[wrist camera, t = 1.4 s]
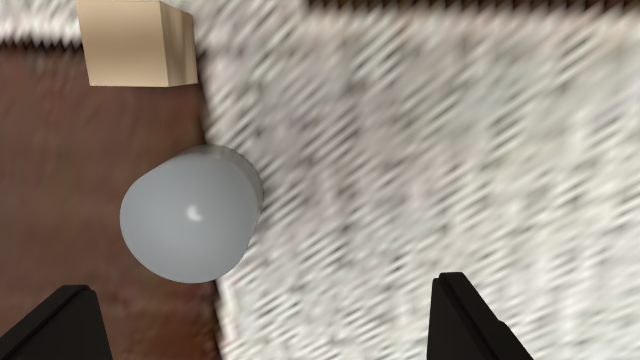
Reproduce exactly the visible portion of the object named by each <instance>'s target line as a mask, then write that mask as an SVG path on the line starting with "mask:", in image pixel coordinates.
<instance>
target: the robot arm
mask: <svg viewBox="0 0 640 360" xmlns="http://www.w3.org/2000/svg"><path fill="white" fill-rule="evenodd" d="M0 360H113V359H112V355H111V351H110V347H109V343H108V338H107V334H106V330H105V326H104V322H103V318H102V314H101V310H100V306H99V302H98V298H97V294H96V292H95V291H94V290H91V289H90V287H89V286H88V285H64V286H61V287H60V288H58V289H57V290H56V291H55V292H53V293H52V294H51V295H50V296H49V297H48V298H46V299H45V300H44V301H43V302H42V303H40V304H39V305H38V306H37V307H36V308H35V309H33V310H32V311H31V312H30V313H29V314H28V315H26V316H25V317H24V318H23V319H22V320H21V321H19V322H18V323H17V324H16V325H15V326H13V327H12V328H11V329H10V330H9V331H8V332H6V333H5V334H4V335H3V336H2V337H1V338H0ZM427 360H533V358H532V357H531V356H530V354H529V353H528V352H527V350H526V349H525V348H524V347H523V345H522V344H521V343H520V341H519V340H518V339H517V337H516V336H515V335H514V334H513V332H512V331H511V330H510V328H509V327H508V326H507V325H506V324H505V323H504V322H502V321H499V320H498V319H497V317H496V316H495V315H494V313H493V312H492V311H491V309H490V308H489V307H488V305H487V304H486V303H485V301H484V300H483V299H482V297H481V296H480V295H479V293H478V292H477V291H476V289H475V288H474V287H473V285H472V284H471V283H470V281H469V280H468V279H467V277H466V276H465V275H464V274H463V273H462V272H447V273H440V275H439V278H434V279H433V283H432V295H431V307H430V319H429V332H428V344H427Z"/></svg>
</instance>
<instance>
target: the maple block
mask: <svg viewBox="0 0 640 360" xmlns="http://www.w3.org/2000/svg"><path fill="white" fill-rule="evenodd" d="M75 2H76V8H77V13H78V19H79V25H80V30H81V36H82V42H83V47H84V53H85V59H86V64H87V70H88V76H89V81H90V85H91V86H150V87H171V86H179V85H187V84H195V83H198V77H197V65H196V54H195V42H194V30H193V19H192V15H191V14H188V13H186V12H184V11H181V10H179V9H177V8H174V7H172V6H170V5H167V4H165V3H163V2H161V1H140V0H75Z"/></svg>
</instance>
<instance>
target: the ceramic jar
mask: <svg viewBox="0 0 640 360" xmlns="http://www.w3.org/2000/svg"><path fill="white" fill-rule="evenodd" d="M263 201H264V192H263V186H262V182H261V179H260V177H259V175H258V173H257V171H256V169H255V168H254V167H253V165H252V164H251V163H250V162H249V161H248V160H247V159H246V158H245V157H244V156H242V155H241V154H239V153H238V152H236V151H234V150H232V149H230V148H227V147H224V146H220V145H214V144H202V145H196V146H193V147H190V148H188V149H185V150H183V151H182V152H180V153H179V154H177V155H175V156H174V157H172V158H171V159H169V160H167V161H166V162H164V163H162V164H161V165H159V166H158V167H156V168H154V169H153V170H151V171H150V172H148V173H146V174H145V175H143V176H142V177H140V178H139V179H138V180H137V181H136V182H135V183H134V184H133V185H132V186H131V187H130V189H129V190H128V191H127V193H126V195H125V197H124V199H123V202H122V205H121V210H120V226H121V231H122V235H123V237H124V240H125V242H126V244H127V246H128V248H129V249H130V251H131V252H132V254H133V255H134V256H135V257H136V258H137V259H138V261H139V262H140V263H142V264H143V265H144V266H145V267H146V268H148V269H149V270H151V271H152V272H154V273H156V274H158V275H159V276H162V277H164V278H167V279H170V280H173V281H177V282H183V283H200V282H206V281H210V280H214V279H216V278H219V277H221V276H223V275H224V274H226V273H228V272H229V271H230V270H232V269H233V268H234V267H235V266H236V265H237V264H238V263H239V261H240V260H241V259H242V257H243V255H244V253H245V251H246V249H247V247H248V244H249V241H250V239H251V236H252V233H253V231H254V228H255V225H256V223H257V220H258V218H259V215H260V212H261V209H262V206H263Z"/></svg>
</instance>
